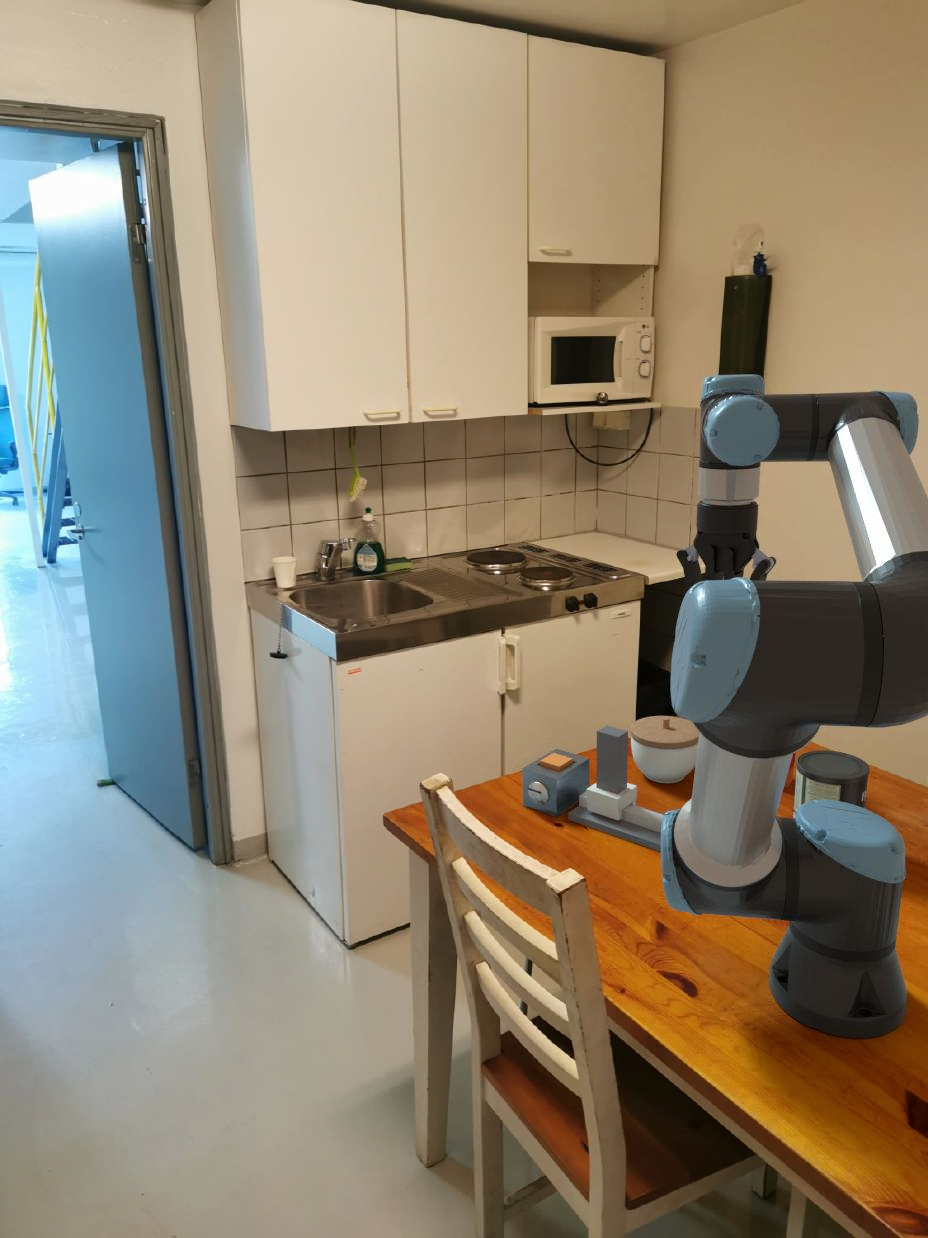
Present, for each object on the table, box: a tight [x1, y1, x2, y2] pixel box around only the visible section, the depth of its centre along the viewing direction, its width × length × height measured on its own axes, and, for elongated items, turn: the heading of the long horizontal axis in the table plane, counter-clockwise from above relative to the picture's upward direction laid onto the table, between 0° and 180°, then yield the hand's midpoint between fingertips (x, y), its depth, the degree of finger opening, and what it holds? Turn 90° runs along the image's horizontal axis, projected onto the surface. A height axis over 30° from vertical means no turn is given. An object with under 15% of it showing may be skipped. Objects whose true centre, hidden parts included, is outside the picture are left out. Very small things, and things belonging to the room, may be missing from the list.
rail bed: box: [567, 792, 665, 853], centre depth 150 cm, size 9×19×3 cm, turn 50°
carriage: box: [586, 725, 638, 821], centre depth 150 cm, size 6×6×14 cm
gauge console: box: [522, 748, 591, 818], centre depth 158 cm, size 11×7×7 cm, turn 140°
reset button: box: [540, 753, 573, 772], centre depth 158 cm, size 4×4×4 cm
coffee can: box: [792, 749, 871, 818], centre depth 140 cm, size 10×10×14 cm
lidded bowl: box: [629, 715, 699, 784], centre depth 166 cm, size 13×13×11 cm
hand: (719, 675), depth 123 cm, fingers closed
